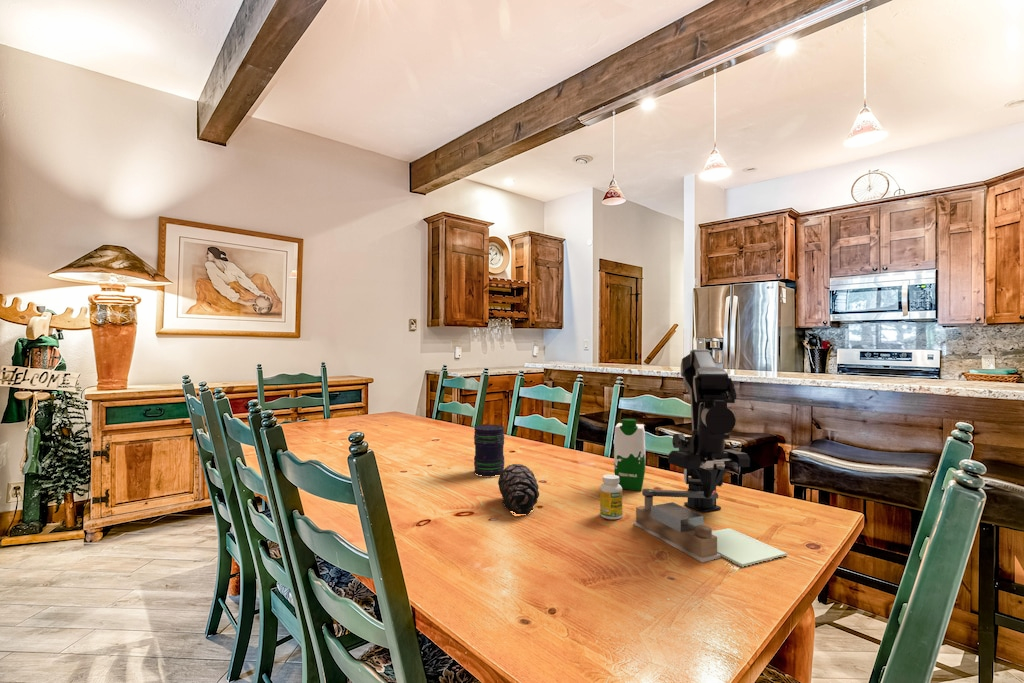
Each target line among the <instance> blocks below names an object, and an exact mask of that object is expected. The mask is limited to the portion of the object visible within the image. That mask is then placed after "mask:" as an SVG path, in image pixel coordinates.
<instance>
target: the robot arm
mask: <svg viewBox="0 0 1024 683" xmlns="http://www.w3.org/2000/svg"><path fill="white" fill-rule="evenodd" d="M715 360H716V358H714V357H713V354H712V350H709V349H708V348H707V349H704V348H703V349H701V348H698V349H696V348H695V349H692V350H690V351H689V354H687V355H686V356H684V357H683V358H682V359H681V362H680V378H681V377H682V380H683V385H684V387H685V388H686V389H687V391H688V392H689V396H690V397H689V398H690V412H691V414H690V415H691V431H692V432H691V433H692V434H691V435H689V436H685V434H684V433H674V434H672V447H673V448H674V449H678V450H671V451H670V452H669V453H668V456H667V457H668V459H667V463H668V464H670V465H672V466H676V467H678V468H681V469H683V480H684V483H685V484H686V485H687V487H688V488H687V491H703V492H704V497H706V498H687V501H686V502H684V503H683V505H684V506H687V507H689V508H691V509H693V510H696V511H698V512H700V513H706V512H707V513H708V512H711V511H718V510H721V509H722V506H720V505H717V499H714V498H710V497H711V494H712V492H713V491H714V490H715V491H716V492H717V487H722V486H723V485H724V476H725V475H726V473H727V472H728V473H729V472H730V468H728V467H725V466H726V464H725V463H735V464H737V466H738V467H740V468H751V467H750V466H751V458H750V456H749V454H748V453H745V452H742V451H739V450H734V449H732V448H730V449H725V444H726V443H725V442H726V440H730V434H729V433H731V432H732V431H733V429H734V428H735V426H736V422H737V420H736V416H735V414H734V412H733V411H732V410H731V409H730V408H728V404H736V403H735V402H736V401H735V400H736V399H737V392H736V388H735V387H736V386H735V383H734V381H733V379H732V377H731V376H729V374H728V372H727V371H726V370H725V369H724V368H720V367H717V365H716V361H715Z"/></svg>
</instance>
